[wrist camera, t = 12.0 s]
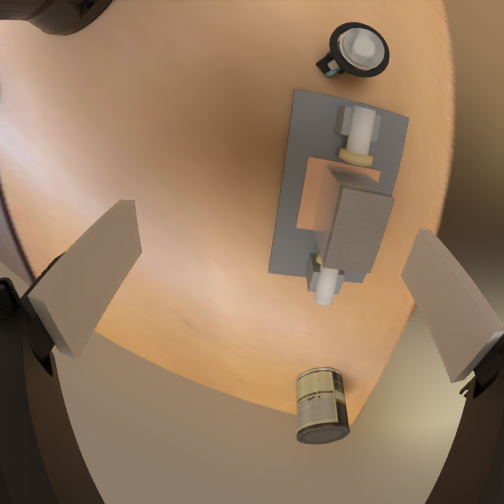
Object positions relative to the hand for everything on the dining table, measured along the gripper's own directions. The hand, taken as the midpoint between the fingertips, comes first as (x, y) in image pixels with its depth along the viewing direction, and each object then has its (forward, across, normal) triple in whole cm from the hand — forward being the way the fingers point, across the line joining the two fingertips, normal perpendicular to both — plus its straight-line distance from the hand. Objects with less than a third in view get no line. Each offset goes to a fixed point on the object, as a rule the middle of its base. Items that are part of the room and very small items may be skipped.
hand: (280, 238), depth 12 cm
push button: (+22, +7, +12) cm, 26 cm away
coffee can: (+20, +15, -45) cm, 52 cm away
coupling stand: (+21, +8, -5) cm, 24 cm away
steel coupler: (+20, +8, -5) cm, 22 cm away
